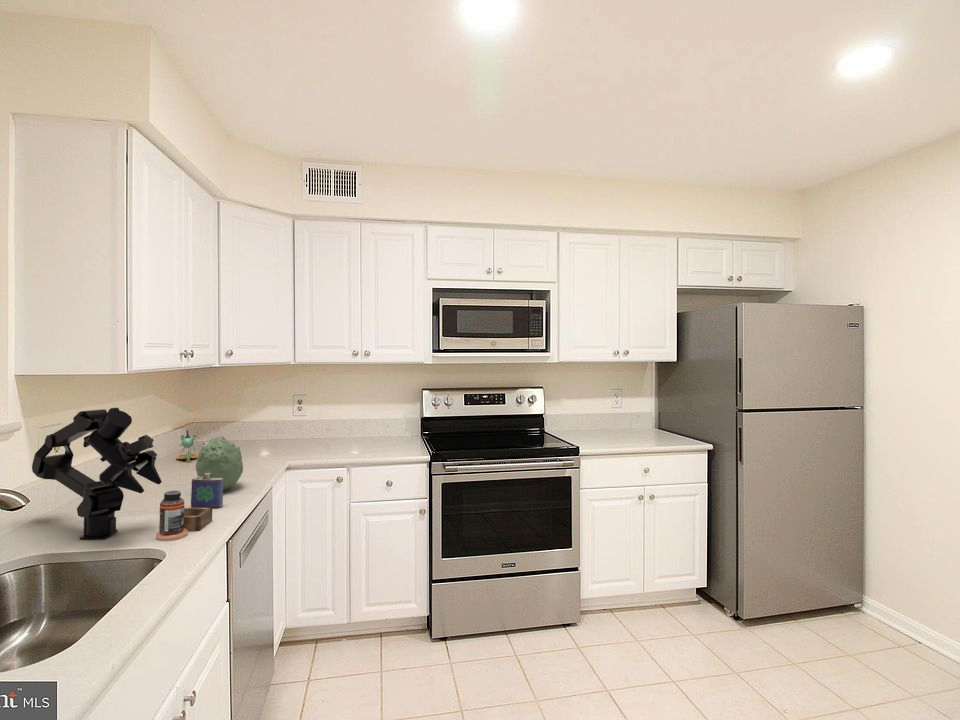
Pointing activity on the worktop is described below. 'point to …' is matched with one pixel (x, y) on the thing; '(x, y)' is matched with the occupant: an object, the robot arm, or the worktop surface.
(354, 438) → the worktop surface
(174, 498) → the supplement bottle
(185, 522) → the wooden box
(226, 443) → the green bumpy egg shape
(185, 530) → the tan flat disc
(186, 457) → the teal round figure
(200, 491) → the flask
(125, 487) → the robot arm
